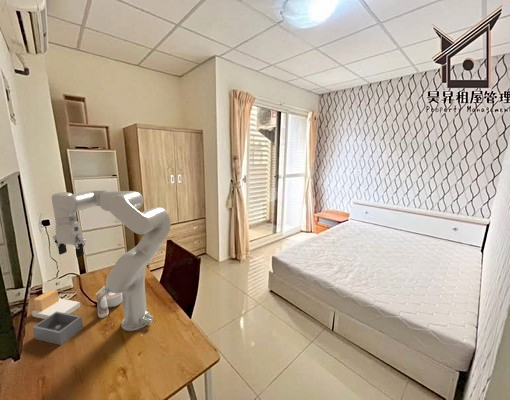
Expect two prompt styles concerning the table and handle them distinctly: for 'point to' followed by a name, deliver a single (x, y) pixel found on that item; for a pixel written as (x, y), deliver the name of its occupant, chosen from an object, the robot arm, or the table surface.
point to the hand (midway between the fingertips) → (71, 254)
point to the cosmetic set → (107, 301)
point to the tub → (58, 328)
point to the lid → (52, 305)
